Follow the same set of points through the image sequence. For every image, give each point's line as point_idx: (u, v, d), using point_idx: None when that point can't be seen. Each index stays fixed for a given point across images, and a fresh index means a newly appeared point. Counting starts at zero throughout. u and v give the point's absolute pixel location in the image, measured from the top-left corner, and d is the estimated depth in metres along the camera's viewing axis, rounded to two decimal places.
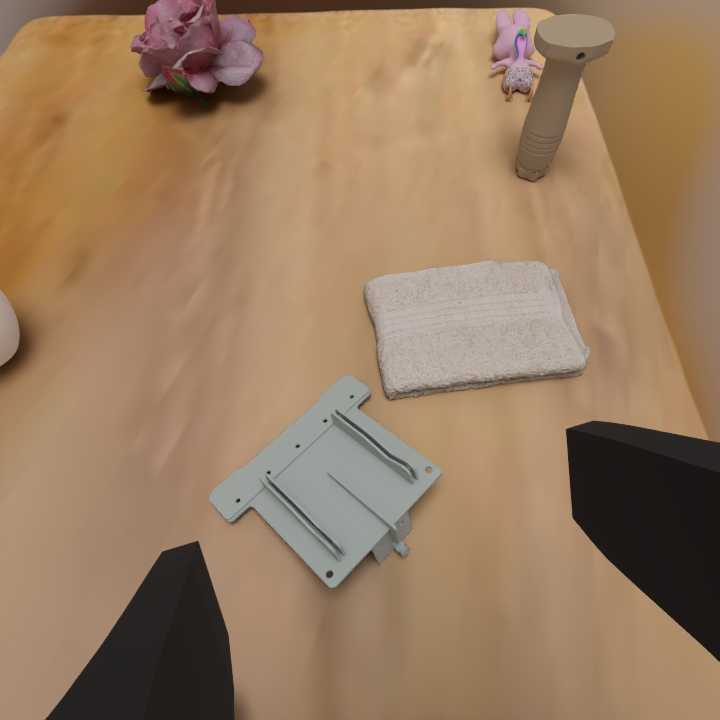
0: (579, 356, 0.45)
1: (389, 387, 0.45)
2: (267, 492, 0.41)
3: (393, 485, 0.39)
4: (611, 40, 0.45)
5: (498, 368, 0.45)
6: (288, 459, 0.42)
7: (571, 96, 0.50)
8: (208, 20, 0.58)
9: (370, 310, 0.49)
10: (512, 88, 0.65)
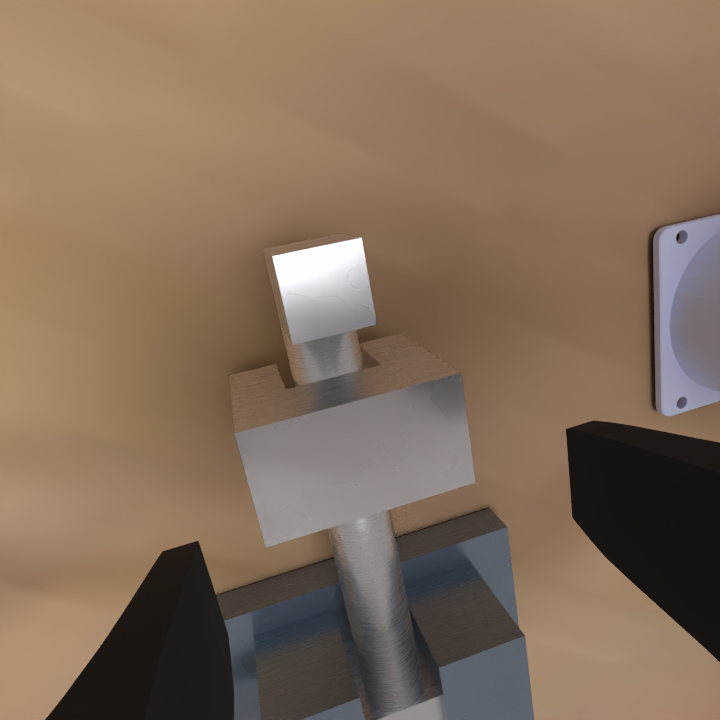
0: None
1: None
2: None
3: None
4: None
5: None
6: None
7: None
8: None
9: None
10: None
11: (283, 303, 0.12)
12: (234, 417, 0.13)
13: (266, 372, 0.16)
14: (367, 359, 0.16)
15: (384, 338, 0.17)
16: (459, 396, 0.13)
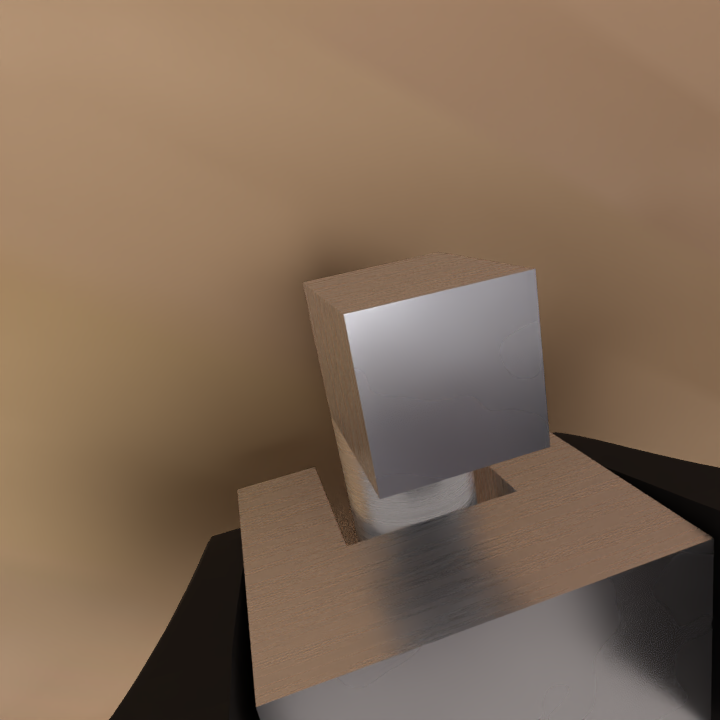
0: None
1: None
2: None
3: None
4: None
5: None
6: None
7: None
8: None
9: None
10: None
11: (363, 414, 0.05)
12: (252, 634, 0.06)
13: (300, 488, 0.09)
14: None
15: None
16: (704, 581, 0.07)
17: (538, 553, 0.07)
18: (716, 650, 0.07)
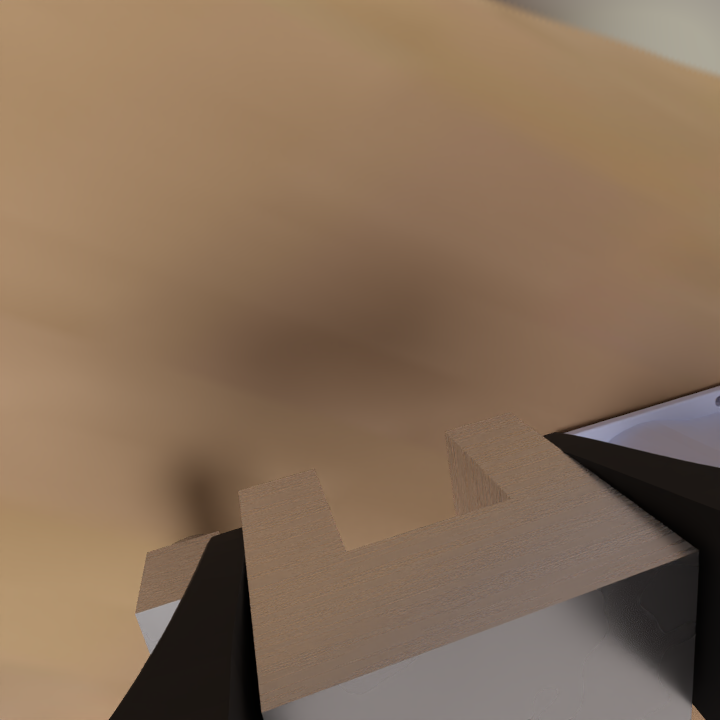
0: None
1: None
2: None
3: None
4: None
5: None
6: None
7: None
8: None
9: None
10: None
11: (149, 646, 0.13)
12: (256, 640, 0.07)
13: (301, 491, 0.09)
14: (467, 465, 0.10)
15: (486, 423, 0.11)
16: (689, 591, 0.07)
17: (531, 563, 0.07)
18: (716, 650, 0.07)
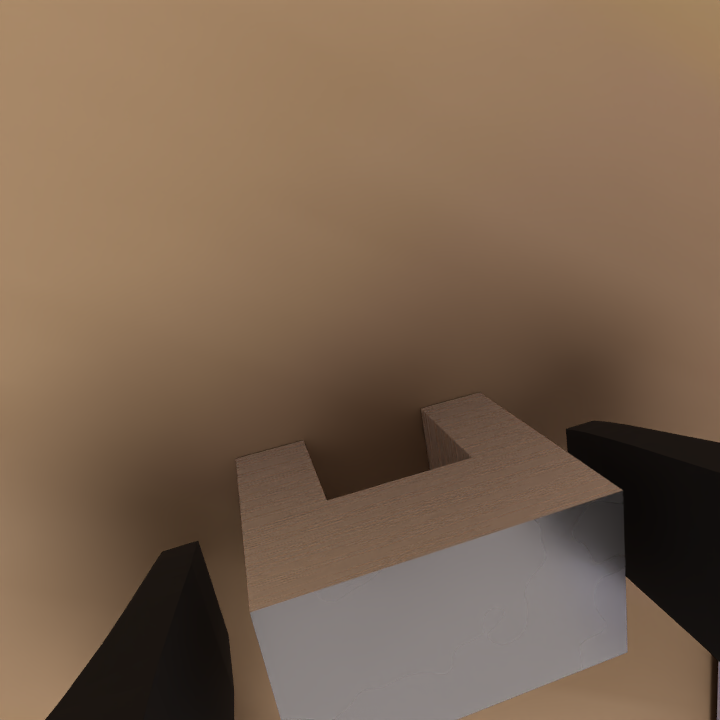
0: None
1: None
2: None
3: None
4: None
5: None
6: None
7: None
8: None
9: None
10: None
11: None
12: (248, 564, 0.08)
13: (291, 457, 0.11)
14: (438, 436, 0.11)
15: (458, 400, 0.12)
16: (616, 526, 0.08)
17: (482, 503, 0.08)
18: None
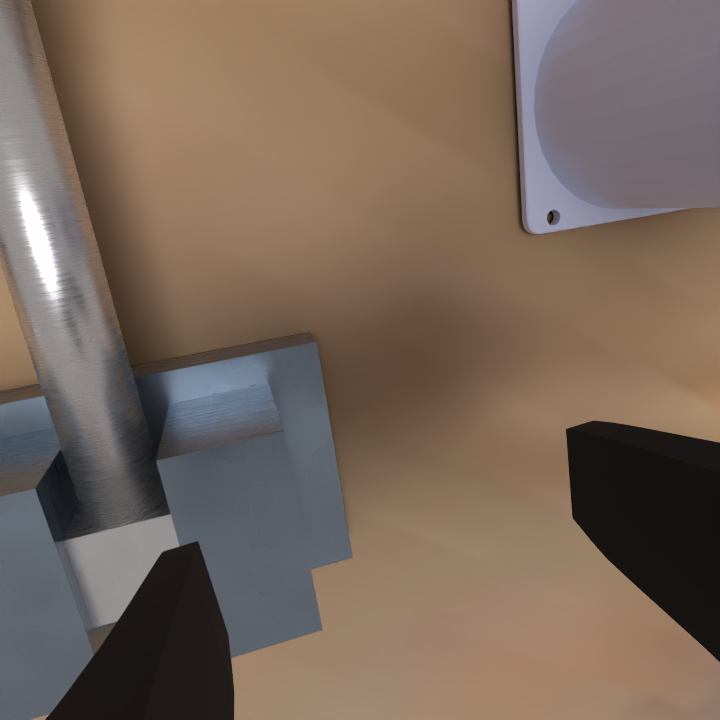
0: None
1: None
2: None
3: None
4: None
5: None
6: None
7: None
8: None
9: None
10: None
11: None
12: None
13: None
14: None
15: None
16: None
17: None
18: None
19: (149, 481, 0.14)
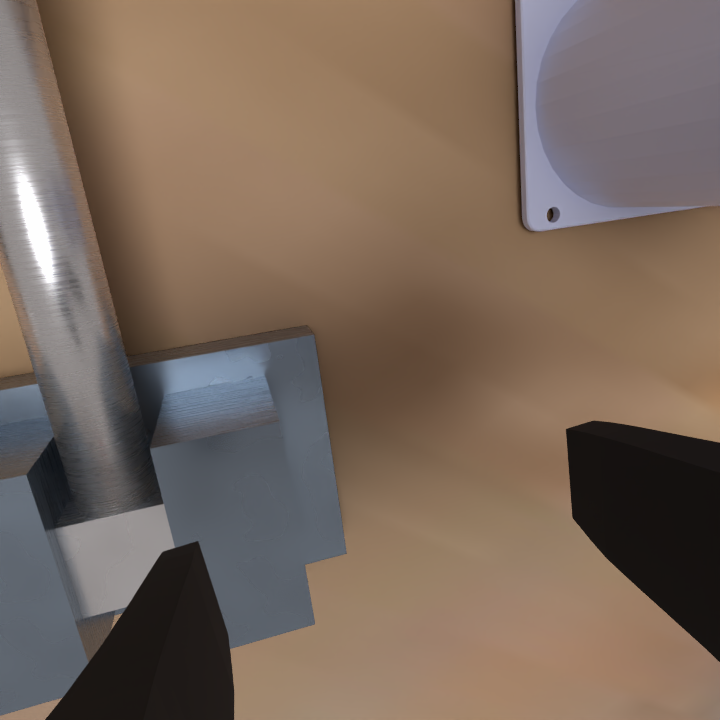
0: None
1: None
2: None
3: None
4: None
5: None
6: None
7: None
8: None
9: None
10: None
11: None
12: None
13: None
14: None
15: None
16: None
17: None
18: None
19: (142, 470, 0.14)
